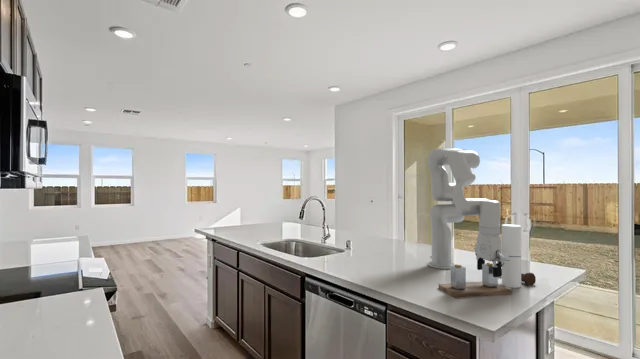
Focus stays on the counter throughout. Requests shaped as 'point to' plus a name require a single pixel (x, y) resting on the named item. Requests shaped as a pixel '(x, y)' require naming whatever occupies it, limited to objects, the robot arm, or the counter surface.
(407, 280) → the counter surface
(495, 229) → the robot arm
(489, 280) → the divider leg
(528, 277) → the brown knobbed rod
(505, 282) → the cylindrical container
